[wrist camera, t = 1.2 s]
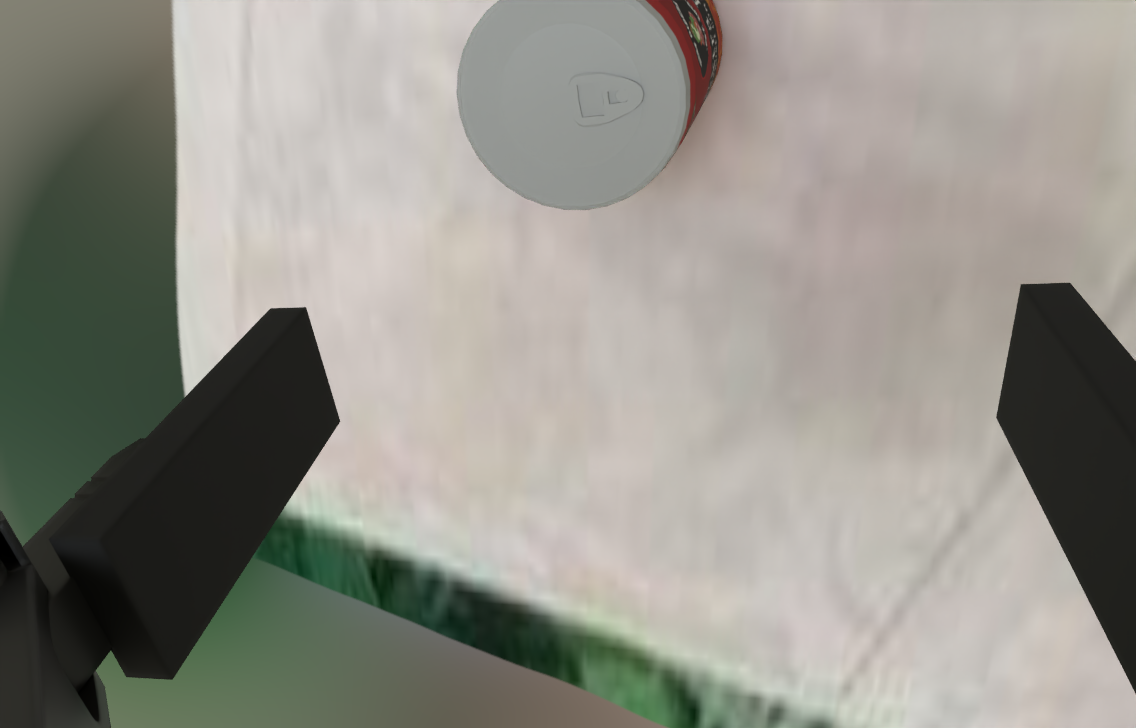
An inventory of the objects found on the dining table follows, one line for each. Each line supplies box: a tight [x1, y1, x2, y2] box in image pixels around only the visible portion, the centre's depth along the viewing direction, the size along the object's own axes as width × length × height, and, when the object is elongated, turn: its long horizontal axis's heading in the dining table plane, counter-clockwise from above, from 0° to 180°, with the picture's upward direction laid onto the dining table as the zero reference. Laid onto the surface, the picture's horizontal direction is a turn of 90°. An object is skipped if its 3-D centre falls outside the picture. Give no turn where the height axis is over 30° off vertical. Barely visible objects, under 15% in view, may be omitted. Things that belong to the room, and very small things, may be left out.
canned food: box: [457, 0, 722, 210], centre depth 32 cm, size 8×8×11 cm
